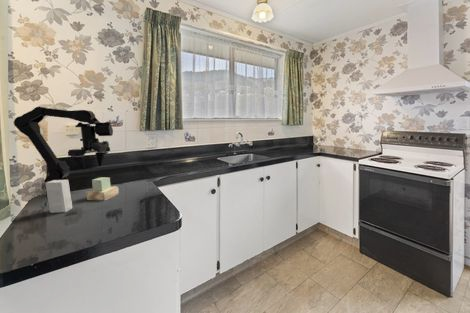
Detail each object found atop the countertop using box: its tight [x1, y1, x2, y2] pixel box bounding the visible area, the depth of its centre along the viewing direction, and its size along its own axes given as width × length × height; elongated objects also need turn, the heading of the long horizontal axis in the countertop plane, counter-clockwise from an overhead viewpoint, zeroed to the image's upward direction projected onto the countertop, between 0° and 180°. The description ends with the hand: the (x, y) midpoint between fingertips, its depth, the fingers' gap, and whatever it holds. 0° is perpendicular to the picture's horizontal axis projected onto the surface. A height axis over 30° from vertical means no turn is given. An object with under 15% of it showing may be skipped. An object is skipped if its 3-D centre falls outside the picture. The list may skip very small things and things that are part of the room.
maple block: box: [85, 185, 119, 201], centre depth 105 cm, size 9×9×4 cm
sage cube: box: [91, 176, 112, 191], centre depth 104 cm, size 5×5×5 cm
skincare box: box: [44, 179, 73, 214], centre depth 88 cm, size 6×4×12 cm
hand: (92, 167), depth 113 cm, fingers open, 9 cm apart
